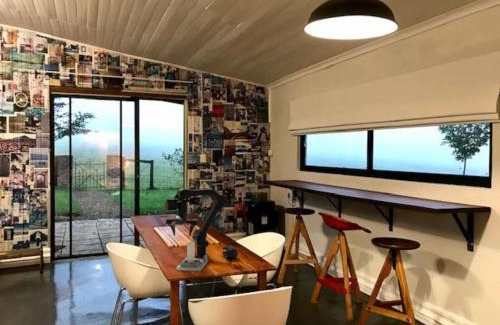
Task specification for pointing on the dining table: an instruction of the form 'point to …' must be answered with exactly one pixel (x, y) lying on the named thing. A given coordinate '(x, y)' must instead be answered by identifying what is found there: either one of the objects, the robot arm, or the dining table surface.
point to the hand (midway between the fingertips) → (182, 236)
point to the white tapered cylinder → (190, 252)
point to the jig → (193, 264)
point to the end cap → (230, 252)
